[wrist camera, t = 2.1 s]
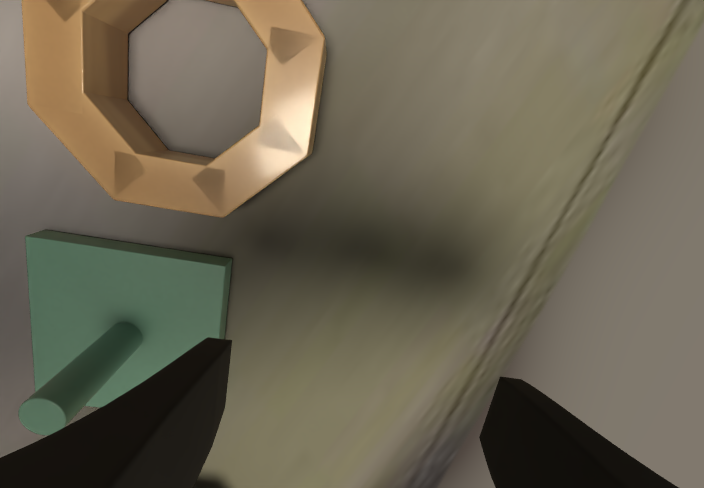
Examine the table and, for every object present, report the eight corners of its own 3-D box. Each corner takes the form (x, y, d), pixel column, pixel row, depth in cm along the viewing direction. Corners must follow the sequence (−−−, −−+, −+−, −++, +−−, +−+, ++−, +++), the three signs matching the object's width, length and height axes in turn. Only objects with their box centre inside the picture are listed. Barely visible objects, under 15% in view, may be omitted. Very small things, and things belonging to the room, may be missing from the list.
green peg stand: (52, 385, 20) (-80, 501, 14) (44, 229, 18) (-120, 282, 11) (218, 405, 21) (166, 522, 15) (232, 258, 19) (178, 322, 12)
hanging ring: (82, 178, 17) (31, 187, 14) (77, -86, 14) (12, -141, 12) (303, 215, 18) (297, 230, 15) (338, -26, 15) (339, -63, 12)
